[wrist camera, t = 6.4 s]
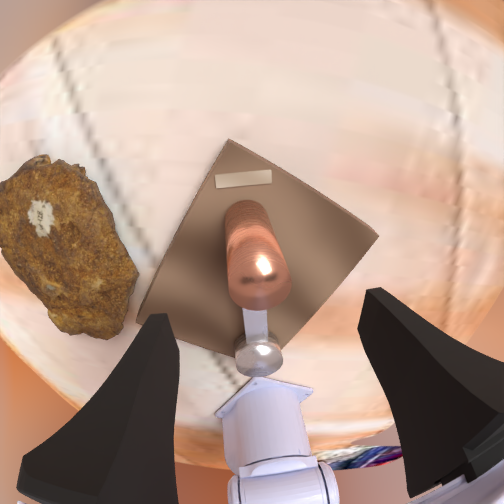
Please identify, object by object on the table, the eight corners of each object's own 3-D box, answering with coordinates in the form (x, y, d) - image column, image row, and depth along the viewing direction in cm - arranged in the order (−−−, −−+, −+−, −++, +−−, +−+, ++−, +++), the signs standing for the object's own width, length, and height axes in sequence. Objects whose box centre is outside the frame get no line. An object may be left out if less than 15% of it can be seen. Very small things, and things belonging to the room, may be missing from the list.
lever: (278, 355, 24) (292, 420, 19) (236, 360, 24) (243, 427, 19) (275, 197, 17) (304, 254, 11) (213, 203, 17) (211, 265, 11)
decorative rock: (181, 295, 23) (85, 122, 16) (178, 330, 19) (58, 128, 12) (80, 334, 24) (-11, 201, 16) (68, 366, 20) (-39, 220, 13)
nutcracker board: (262, 354, 27) (265, 367, 25) (139, 309, 23) (135, 323, 21) (370, 226, 21) (379, 236, 19) (228, 138, 17) (229, 142, 15)
